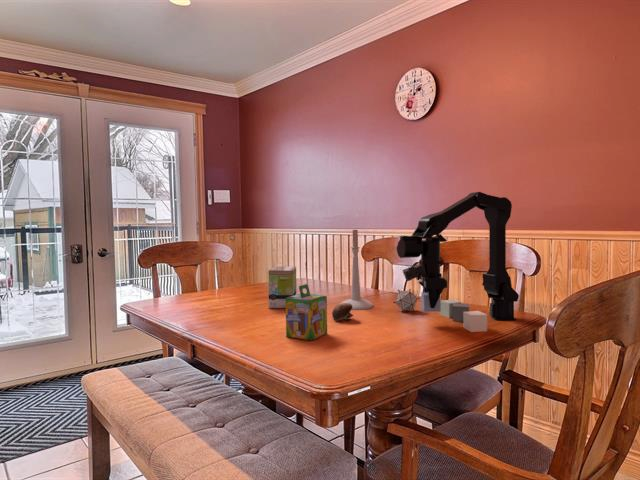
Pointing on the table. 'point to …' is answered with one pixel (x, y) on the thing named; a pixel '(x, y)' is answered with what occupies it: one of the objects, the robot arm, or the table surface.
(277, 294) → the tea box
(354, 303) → the candlestick
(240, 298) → the table surface
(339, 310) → the mushroom
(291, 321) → the chalk box
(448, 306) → the sage cube
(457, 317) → the charcoal cube
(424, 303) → the slate blue cube
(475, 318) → the cream cube
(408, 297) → the game die
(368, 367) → the table surface
